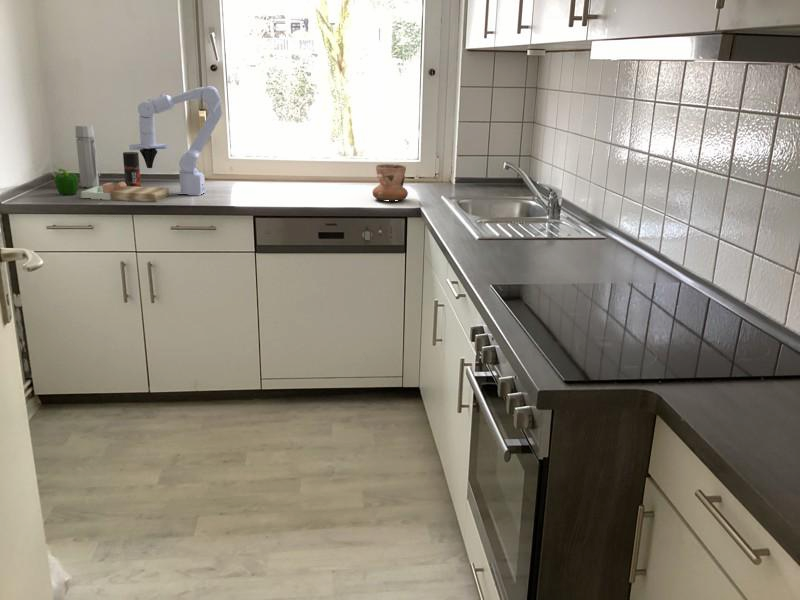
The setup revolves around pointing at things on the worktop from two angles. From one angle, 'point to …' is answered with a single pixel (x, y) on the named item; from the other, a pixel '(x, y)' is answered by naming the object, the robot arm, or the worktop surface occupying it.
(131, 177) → the deodorant
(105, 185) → the tile
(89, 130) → the water bottle
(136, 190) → the board
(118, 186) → the tile
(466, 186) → the worktop surface
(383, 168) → the brown clay vase
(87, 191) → the tray
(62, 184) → the bell pepper
